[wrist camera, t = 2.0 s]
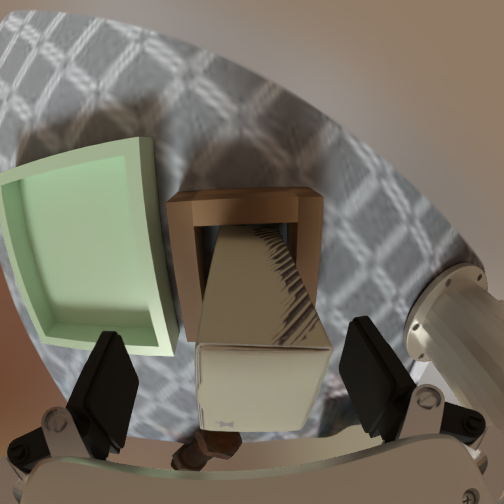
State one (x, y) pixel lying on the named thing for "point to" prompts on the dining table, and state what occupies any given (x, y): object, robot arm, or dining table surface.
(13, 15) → the dining table surface
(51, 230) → the tray
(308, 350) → the box
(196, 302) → the frame
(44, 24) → the dining table surface
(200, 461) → the bolt
